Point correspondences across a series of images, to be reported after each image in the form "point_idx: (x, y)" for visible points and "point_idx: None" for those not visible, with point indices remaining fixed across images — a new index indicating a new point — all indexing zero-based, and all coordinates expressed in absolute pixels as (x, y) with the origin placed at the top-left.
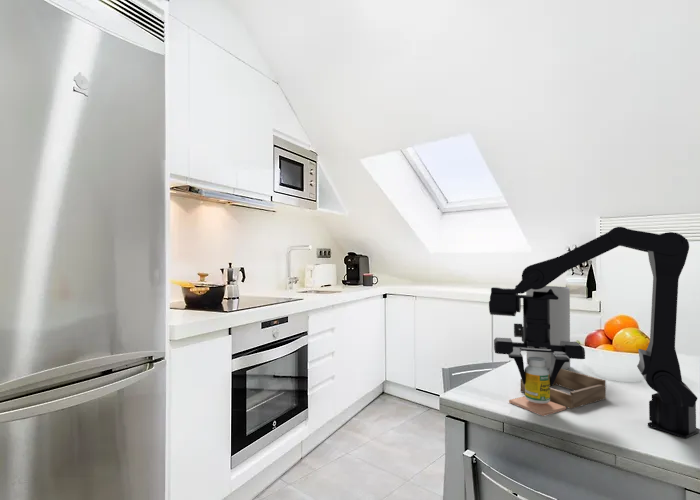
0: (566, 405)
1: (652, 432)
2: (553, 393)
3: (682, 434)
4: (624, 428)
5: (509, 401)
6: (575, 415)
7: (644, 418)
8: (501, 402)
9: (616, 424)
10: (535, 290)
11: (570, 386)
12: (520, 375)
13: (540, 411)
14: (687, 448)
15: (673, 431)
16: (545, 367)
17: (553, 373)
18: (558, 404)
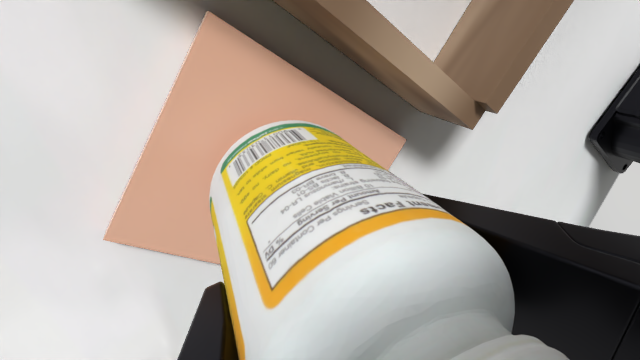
0: (409, 100)
1: (573, 173)
2: (380, 62)
3: (624, 164)
4: (524, 193)
5: (108, 236)
6: (422, 181)
7: (616, 56)
8: (58, 259)
9: (517, 176)
10: None
11: None
12: (184, 347)
13: None
14: (586, 220)
15: (618, 158)
16: (508, 321)
17: (514, 331)
18: (377, 127)
